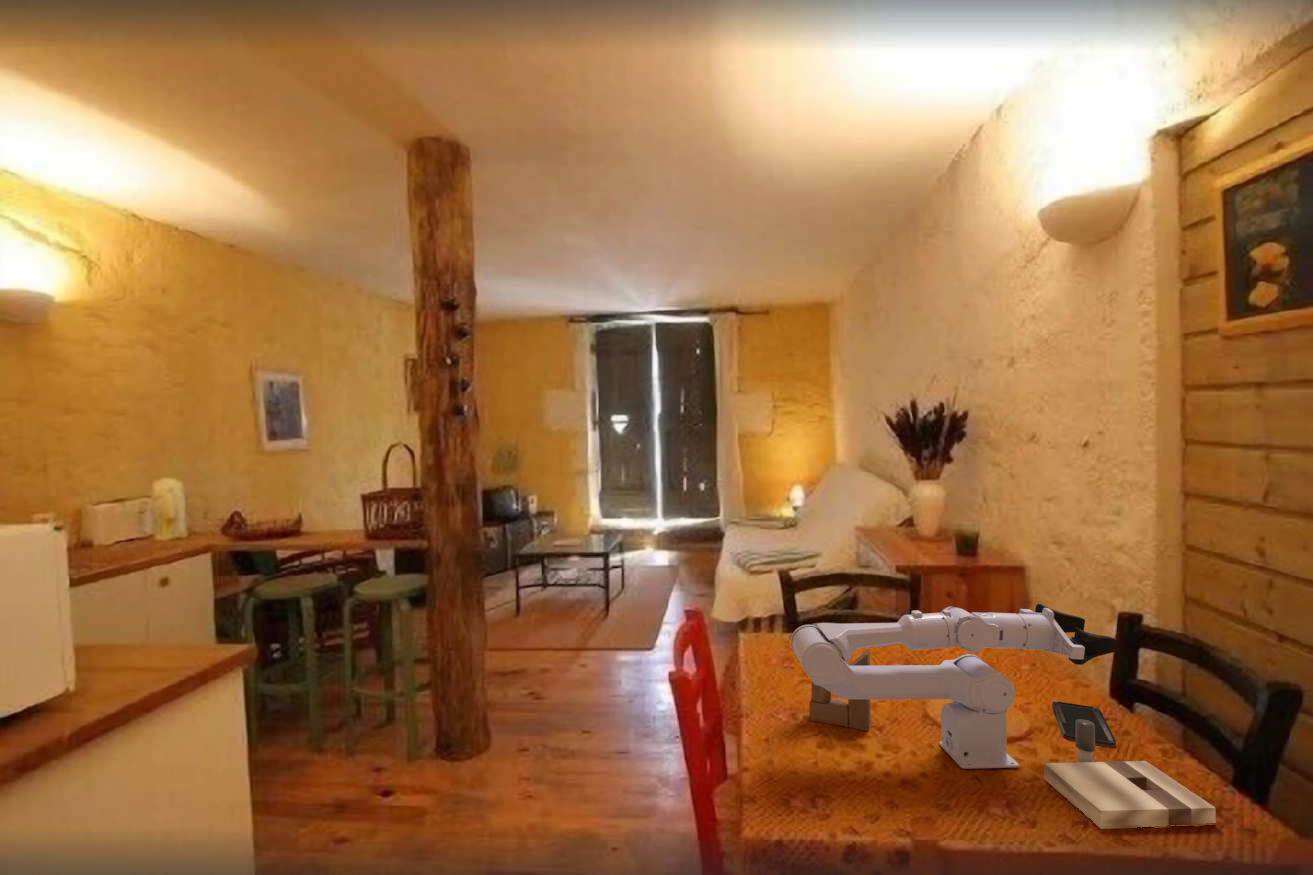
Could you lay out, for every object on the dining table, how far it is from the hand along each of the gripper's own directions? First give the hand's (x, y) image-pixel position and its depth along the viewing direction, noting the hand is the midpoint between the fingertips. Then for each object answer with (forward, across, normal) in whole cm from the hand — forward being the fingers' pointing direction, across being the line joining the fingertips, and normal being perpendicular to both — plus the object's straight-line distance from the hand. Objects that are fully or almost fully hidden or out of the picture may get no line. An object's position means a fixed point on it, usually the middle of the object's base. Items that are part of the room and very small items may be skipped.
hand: (1098, 634), depth 103 cm
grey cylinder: (-4, -6, +20) cm, 21 cm away
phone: (+5, +8, +22) cm, 24 cm away
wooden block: (-39, +10, +24) cm, 47 cm away
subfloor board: (-4, -15, +19) cm, 25 cm away
